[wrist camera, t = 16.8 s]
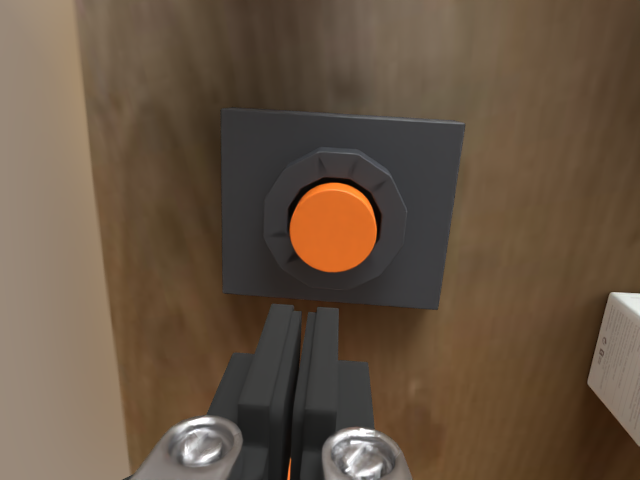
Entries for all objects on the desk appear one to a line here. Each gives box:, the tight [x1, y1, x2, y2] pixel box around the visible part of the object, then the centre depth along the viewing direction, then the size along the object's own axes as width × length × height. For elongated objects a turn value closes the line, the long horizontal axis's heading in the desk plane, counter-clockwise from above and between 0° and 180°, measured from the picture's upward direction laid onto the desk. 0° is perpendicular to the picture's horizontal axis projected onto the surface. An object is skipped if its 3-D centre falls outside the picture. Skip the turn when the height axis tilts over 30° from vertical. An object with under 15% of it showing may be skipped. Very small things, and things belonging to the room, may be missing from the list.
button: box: [289, 182, 377, 272], centre depth 22 cm, size 4×4×2 cm
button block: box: [221, 107, 465, 310], centre depth 24 cm, size 12×10×4 cm
